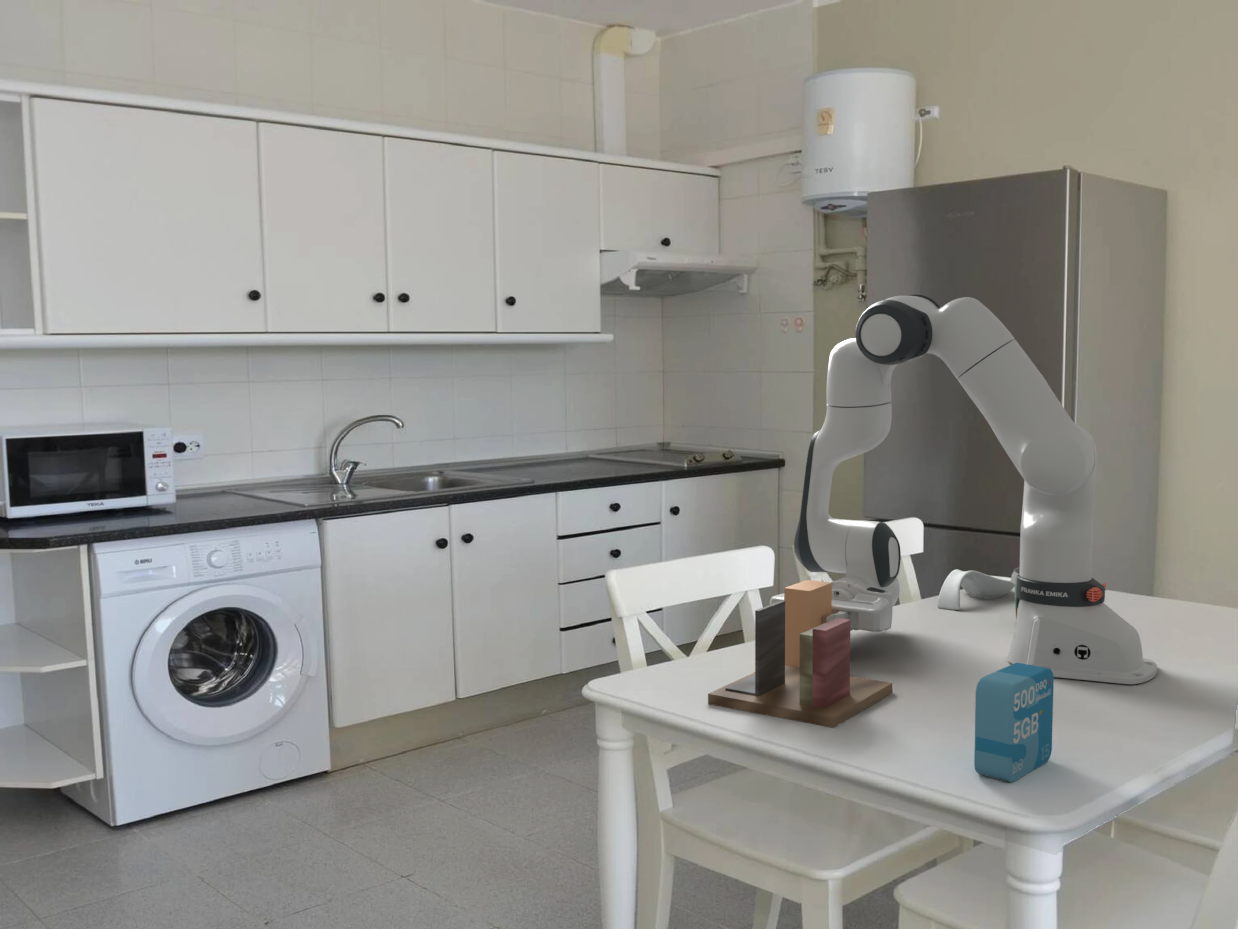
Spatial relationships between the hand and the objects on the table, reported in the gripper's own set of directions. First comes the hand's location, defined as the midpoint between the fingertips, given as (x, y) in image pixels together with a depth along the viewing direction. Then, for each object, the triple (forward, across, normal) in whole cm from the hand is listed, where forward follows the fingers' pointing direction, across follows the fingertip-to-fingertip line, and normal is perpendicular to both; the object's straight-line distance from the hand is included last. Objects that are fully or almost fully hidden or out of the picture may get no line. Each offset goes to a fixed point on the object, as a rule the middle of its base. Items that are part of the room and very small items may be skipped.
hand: (808, 620), depth 196 cm
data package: (+30, +43, +8) cm, 53 cm away
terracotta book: (0, 0, +7) cm, 7 cm away
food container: (-48, +21, +7) cm, 53 cm away
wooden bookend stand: (+18, +8, +7) cm, 21 cm away
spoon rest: (-63, +6, +8) cm, 63 cm away
